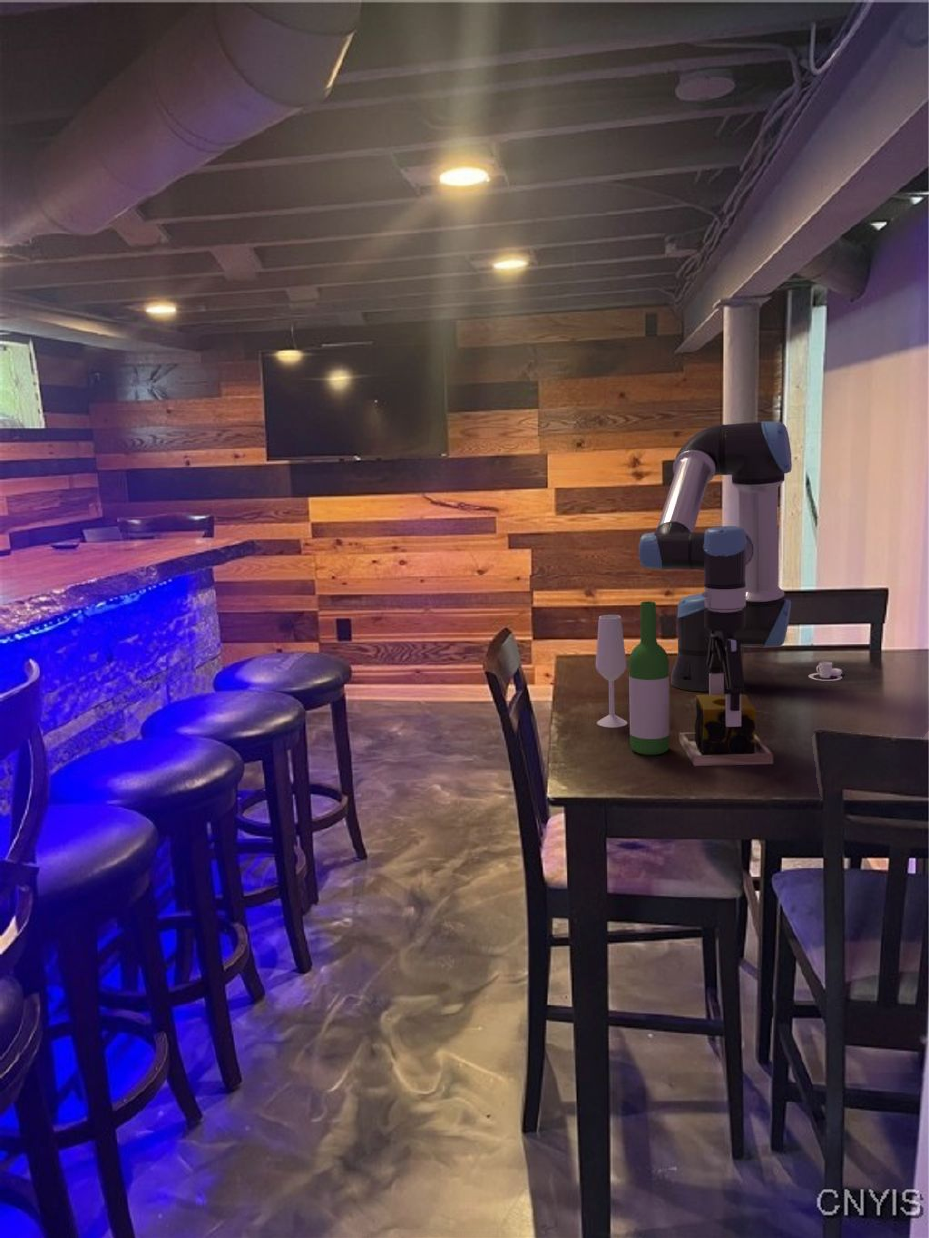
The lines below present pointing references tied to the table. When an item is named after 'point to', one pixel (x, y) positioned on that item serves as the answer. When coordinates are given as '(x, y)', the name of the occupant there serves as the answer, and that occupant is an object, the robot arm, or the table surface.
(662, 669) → the wine bottle
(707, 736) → the candle
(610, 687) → the champagne flute
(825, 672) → the teacup and saucer
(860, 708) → the table surface
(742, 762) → the slot frame
